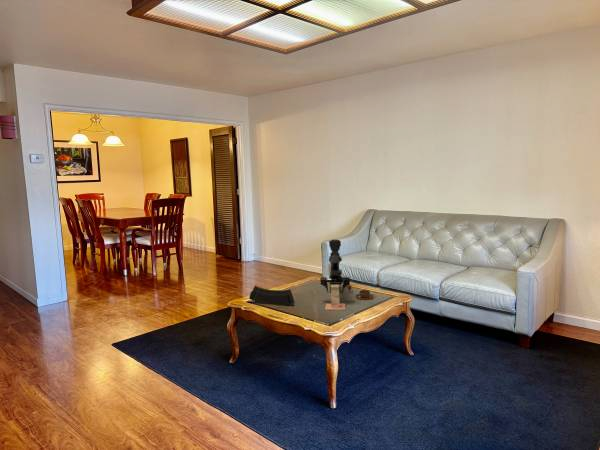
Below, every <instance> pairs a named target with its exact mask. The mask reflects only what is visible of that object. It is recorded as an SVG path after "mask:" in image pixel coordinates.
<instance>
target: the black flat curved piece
mask: <svg viewBox="0 0 600 450" xmlns="http://www.w3.org/2000/svg"><path fill="white" fill-rule="evenodd" d="M248 299H249V300H251V301H253V302H254V303H256V302H257V303H260V304H265V305H272V304H273V305H274V306H285V305H294V304H295V303H296V302H295V299H294V296H293V293H292V290H291V289H290V288H288V289H284V290H282V289H279V290H277V289H267V288H263V287H260V286H257V285H254V287H252V290H251V292H250V294H249V297H248ZM273 305H272V306H273Z"/></svg>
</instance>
